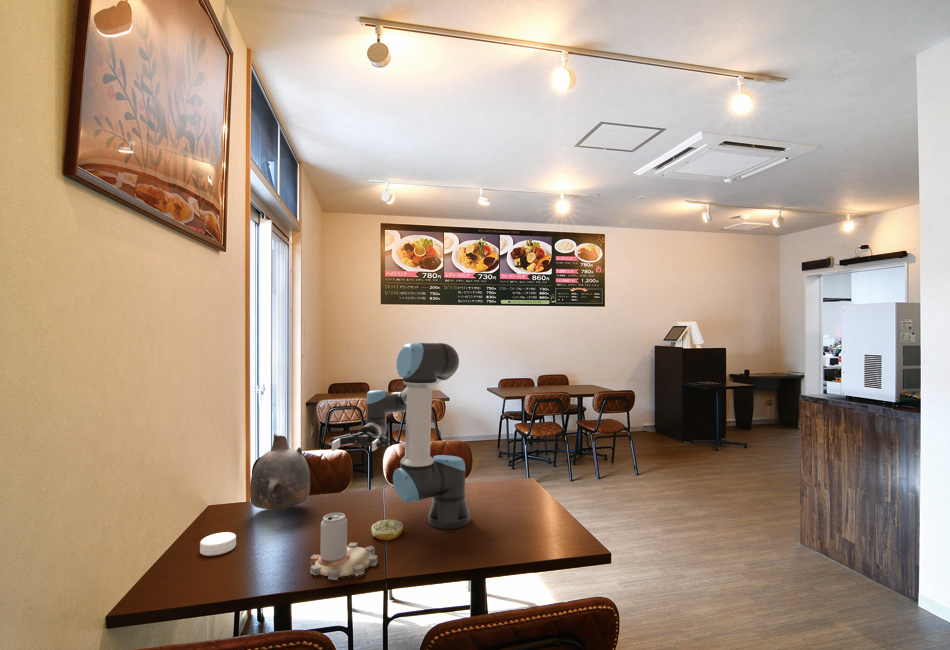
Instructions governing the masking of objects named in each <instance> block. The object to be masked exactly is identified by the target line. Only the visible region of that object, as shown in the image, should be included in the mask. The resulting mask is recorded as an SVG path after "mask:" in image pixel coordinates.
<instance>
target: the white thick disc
mask: <svg viewBox="0 0 950 650" xmlns="http://www.w3.org/2000/svg"><path fill="white" fill-rule="evenodd" d="M199 546H200V547H199V553H200V554H201V555H203V556H207V557H209V556H218V555H223V554H225V553H226V554H227V553H229V552H230V551H232V550H234V548H236V546H237V535H236V533H234V532H229V531H226V532H225V531H224V532H217V533H212V534H210V535H206V536H205V537H204V538H202V539H201V540H200V542H199Z"/></svg>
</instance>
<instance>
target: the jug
mask: <svg viewBox="0 0 950 650" xmlns="http://www.w3.org/2000/svg"><path fill="white" fill-rule="evenodd" d="M310 492H311V474H310V468H309V465H308V462H307V460H306V458H305V456H304V455H303V449H302V447H300V446H299V447H298V448H297V449H294V448H290V447H289V444H288V438H287V437H286V436H285V435H278V434H277V433H275V432H274V434H273V441H272V446H271V449H270V450H269V451H267V452H265V453H264V454H262V456H260V458H259V459H258V460H257V463H255V466H254V469H253V471H252V473H251V477H250V483H249V497H250V498H249V499H250V503H251V504H252V506H253V507H255V508H257V509H262V510H271V511H274V512H277V513H281V512H283V511H285V510H287V509H288V508H291V507H295V506H297V505H300V504H302V503H304V502H306V500H307V499H308V498H309V495H310Z"/></svg>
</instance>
